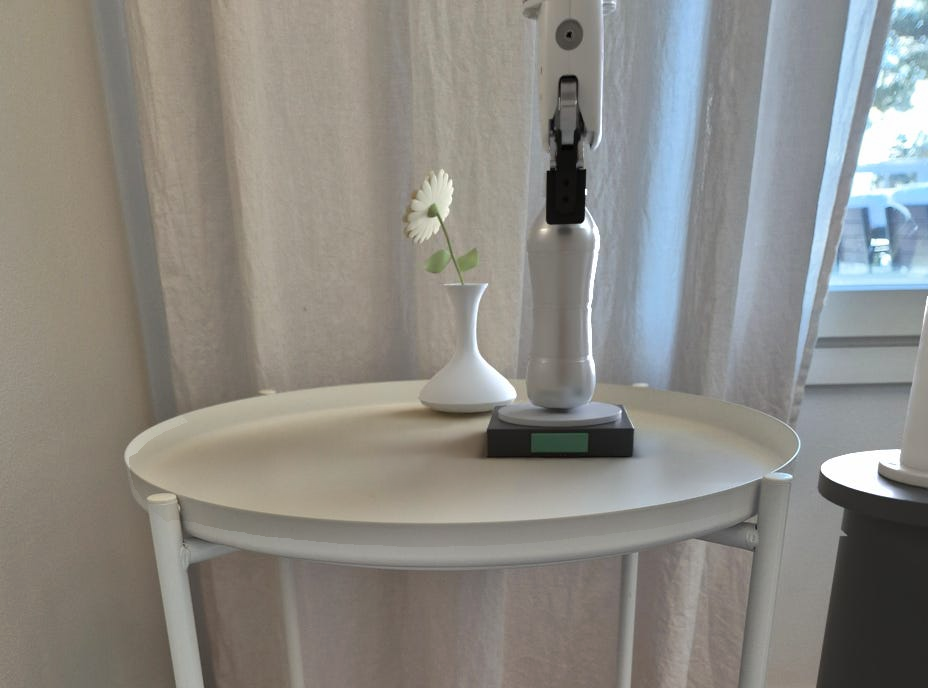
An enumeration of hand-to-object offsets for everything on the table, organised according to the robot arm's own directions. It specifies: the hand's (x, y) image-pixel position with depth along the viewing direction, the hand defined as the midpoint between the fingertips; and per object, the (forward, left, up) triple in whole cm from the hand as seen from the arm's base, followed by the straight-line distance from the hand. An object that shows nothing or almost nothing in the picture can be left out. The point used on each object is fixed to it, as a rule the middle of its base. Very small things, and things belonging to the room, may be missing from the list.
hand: (564, 225), depth 78 cm
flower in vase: (+11, -18, -19) cm, 28 cm away
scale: (0, 0, -19) cm, 19 cm away
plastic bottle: (0, 0, -16) cm, 16 cm away
